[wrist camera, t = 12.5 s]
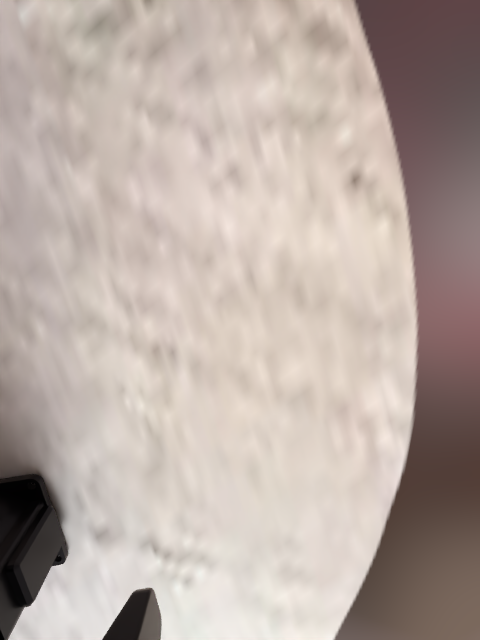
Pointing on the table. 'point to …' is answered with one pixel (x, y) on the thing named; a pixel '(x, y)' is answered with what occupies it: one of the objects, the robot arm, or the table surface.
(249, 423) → the table surface
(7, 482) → the robot arm
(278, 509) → the table surface
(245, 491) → the table surface
